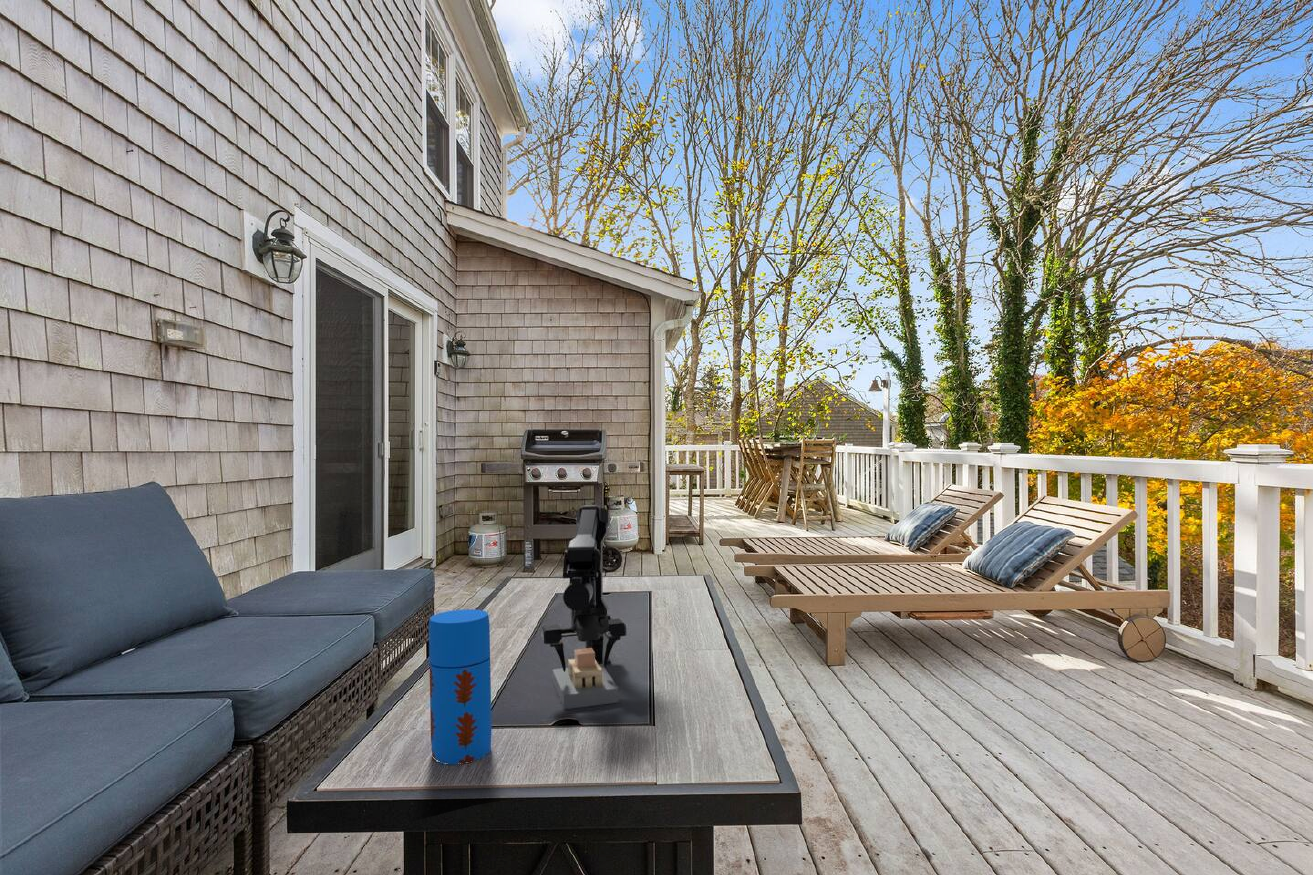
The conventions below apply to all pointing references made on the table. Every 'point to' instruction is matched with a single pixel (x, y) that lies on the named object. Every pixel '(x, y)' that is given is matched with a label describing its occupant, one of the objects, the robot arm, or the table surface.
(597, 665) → the tray
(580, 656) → the block
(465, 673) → the thermos
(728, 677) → the table surface
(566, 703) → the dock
